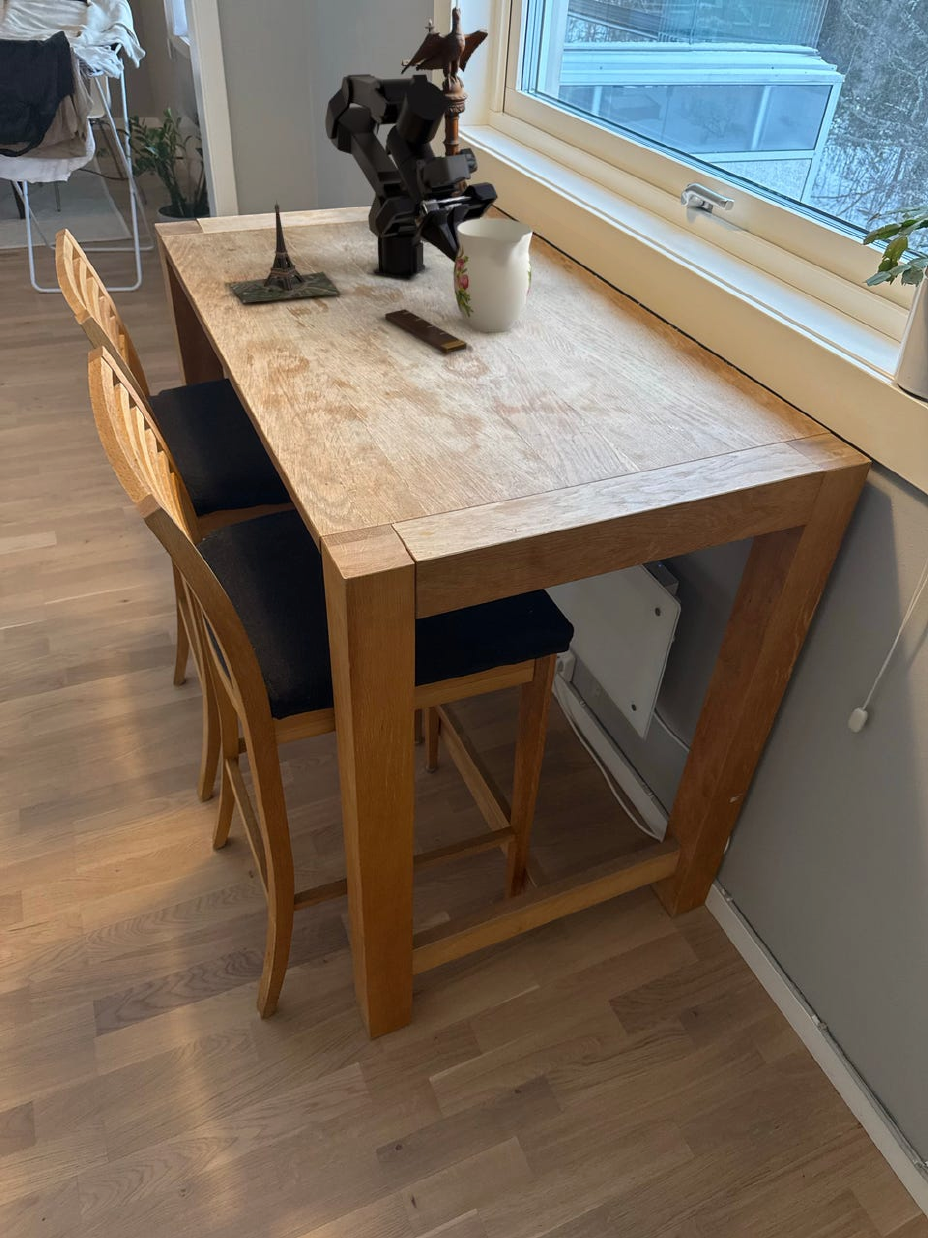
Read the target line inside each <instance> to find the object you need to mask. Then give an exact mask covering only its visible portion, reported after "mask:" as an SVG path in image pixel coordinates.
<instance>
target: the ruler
mask: <svg viewBox="0 0 928 1238" xmlns="http://www.w3.org/2000/svg"><path fill="white" fill-rule="evenodd" d="M384 318H385V320H386V321H388V322H389V323H391V324H393V325H395V326H397V327H398V328H400V329H401V330H403V331H405V332H407V333H408V334H411V336H414V337H415V338H417V339H419V340H421V341H422V342H424V343H426V344H428V345H430V346H431V347H433V348H435V349H436V350H438V351H439V352H442V353H443V354H446V355H448V354H452V353H455V352H459V351H462V350H465V349H467V342H466V341H464V340H463V339H460V338H458V337H456V336H454V335H452V334H451V333H449V332H447V331H445V330H444V329H442V328H440V327H438V326H436V325H434V324H433V323H431V322H429V321H427V320H426V319H423V318H422V317H420V316H418V315H416V314H414V313H413V312H410V311H409V310H407V309H405V308H403V309H400V310H396V311H392V312H388V313H385V314H384Z"/></svg>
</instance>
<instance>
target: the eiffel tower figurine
mask: <svg viewBox="0 0 928 1238" xmlns="http://www.w3.org/2000/svg"><path fill="white" fill-rule="evenodd" d="M273 209H274V211H275V238H276V239H275V241H276V243H275V251H274V254H275V255H274V259H273V264H272V266H270V271H269V274H268V276H267V277H266V278H260V279H255V280H249V281H243V282H236V283H231V284H229V286H230V287H231V289H232V291H233V292H234V293H235V294H236V295H237V297H239V299H240V300H241V301H242V303H244V304H245V303H252V302H264V301H265V302H266V301H276V300H284V299H290V298H291V299H292V298H300V297H310V296H329V295H331V296H332V295H340V294H341V292H340V291H339V290H338V288H337V287H336V286H335V284H334V283H333V282H332V281H331V280H330V278H329V277H328V276H327V275H326V273H325V272H324V271H318V272H313V273H307V274H301V273H300V272H299V271H298V270H297V268H296V265H294V264H293V262H292V260H291V258H290V256H289V250H287V247H286V241H285V238H284V233H283V226H282V220H281V214H280V209H281V208H280V205H279V204H278V201H277V199H275V205H274V208H273Z"/></svg>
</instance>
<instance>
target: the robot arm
mask: <svg viewBox="0 0 928 1238" xmlns="http://www.w3.org/2000/svg"><path fill="white" fill-rule="evenodd" d="M441 90H442V89H440V87H439V86H437V85H436V84H434V83H433V82H431V81H429V79H428V76H427V74H426V73H425V74H423V73H422V74H421V73H420V74H412V76H411V77H407V78H406V77H405V78H382V79H381V78H378V77H376V76H375V75H371V74H370V73H362V74H347V75H346V76H343V78H342V81H341V86H340V88H339V89H338V90H337V92H336V93H335V94H334V95H333V96H332V97H331V98H330V100H329V101H328V103H327V109H326V114H325V120H324V121H325V122H324V123H325V132H326V136H327V139H328V140H330V142H331V144H332V145H333V146H334V147H335V148H336V149H337V150H338V151H339V152H343V153H345V154H349V155H352V157H353V158H354V160H355V162H356V163H357V165H358V167H359V168H360V170H361V172H362V173H363V175H364V176H365V178H366V180H367V182H368V183H369V184H370V186H371V188H372V190H373V191H374V199H373V201H372V203H371V207H370V209H369V212H368V215H367V219H368V226H369V231H370V232H371V233H372V234H373V235H374V236H376V238H377V261H378V263H377V264H378V265H377V266H378V267H376V268H374V269H373V274H375V275H380V276H387V277H391V278H397V279H402V280H411V279H412V278H413V277H415V276H416V275H418V274H419V273H421V272H422V271H424V270H425V269H426V264H424V243H423V242H422V241H421V240H422V238H424V239H425V240H427V241H426V242H428V243H429V244H431V245H432V246H433V247H435V248H436V249H437V250H438V251H440V252H441V253H442V254H443V255H445V256H446V257H447V259H449V260H450V261H452V262H453V263H454V264H455V260H456V257H457V253H458V251H459V248H460V246H459V238H458V233H457V227H458V225H460V224H461V223H462V220H463V221H464V222H466V221H469V220H474V219H479V218H480V219H482V218H483V216H485V214H486V213H487V212H488V210H490V208H491V207H492V206H493V205H494V203H495V202H496V201H497V199H498V198H499V196H498V194H497V191H496V189H495V187H494V185H493V184H492V183H490V182H488V181H485V182H479V183H473V184H468V185H467V186H468V187H467V188H466V190H465V191H464V192H463V194H462V195H461V196H459V197H454V198H453V196H452V193H453V192H456V191H457V190H458V188H459V185H458V182H460V181H463V180H465V181H466V180H471V178H472V175H471V174H474V173H475V172H477V170H478V167H479V165H478V161H477V157H476V155H475V153H474V152H473V150H472V148H471V147H466V148H460V150H458V151H457V152H456V153H455V155H453V156H446V157H445V156H442V155H438V156H436V153H435V152H434V149H433V148H432V146H431V142H432V141H433V140H434V139H435V137H436V135H437V132H438V130H439V128H440V126H441V123H442V120H443V118H444V116H445V115H444V114H445V111H446V109H447V99H446V96H445V95H444V94H443V92H442V91H441ZM351 104H352V105H353V104H355V105H358V106H351ZM382 125H383V126H384V125H393V126H392V127H391V128H390V130H389V131H388V134H387V135H386V140H385V146H383V144H382V142H381V141H380V140H379V138H378V133H379V130H380V126H382ZM391 156H392V158H391ZM392 159H393V160H392ZM421 237H422V238H421ZM424 239H423V240H424ZM425 240H424V241H425Z"/></svg>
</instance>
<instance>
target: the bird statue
mask: <svg viewBox="0 0 928 1238" xmlns="http://www.w3.org/2000/svg"><path fill="white" fill-rule="evenodd" d="M461 14H462V13H461V8H459V7H457V6H454V8H452V10H451V30H450V32H449V33H446V34H441V30H438V29H435V26H434V25H433V21H432V18H428V26H427V25H426V26H424V28H425V29H428V33H427V34H426V36H425V38H424V40H423V42H422V44H421V45H420V46H419V48H418V50H417V51H416V52H415V54H414V55H413V57H412V58H411V59H406V58H404V59H403V60H402V61H401V63H400V65H401V67H404V68H403V69H402V70H401V72H400V74H401V76H402V75H403V74H404V73H405V72H406V71H407V70H408V69H409V68H410V67H412V68H414V67H415V71H416V72H419V71H426V70H427V71H439V70H442V74H443V77H444V80H443V81H442V83H441V88H442V89H440V90H441V91H442V92H443V94H444V95H445V96H446V99H447V109H446V111H445V114H444V116H443V118H444V136H445V137H444V140H443V141H442V144H443V145H444V149H445V150H444V157H446V156H453V155H455V153H456V152H457V151H459V145H460V143H461V141H460V138H459V125H460V124H459V122H460V121H459V119H460V118H461V116H460V115H461V114H463V113H465V111H466V104H465V103H466V100H467V99H468V97H469V96H468V94H467V92H465V91H464V88H465V84H464V82H463V79H462V78H461V77H460V76H458V72H459V69H460V70H461V72H462V73H464V72H465V69H466V67H467V64H468V62H469V60H470V58H472V55H473V54H474V53H475V51H476V50H477V49H478V48H479V47H480V45H481V44H482V43H483V42H484V41H485V40H486V39H487V38H488V36H489V33H488V30H487V29H483V28H479V29H477V30H476V31H473V32H470V33H464V31H463V28H462V23H461V22H462V20H461ZM458 185H459V188H458V190H457V191H456V192H453V193H452V196H453V198H454V197H459V196H461V195H462V194H463V192H464V191H465V190H466V188H467V187H468V186H469V185H468V183H467V181H466V179H465V180H463V181H460V182H458ZM479 219H481V218H479ZM463 222H464V221H463V220H462V223H463ZM421 240H423V241H425V242H428V241H427V240H425V239H424V238H422V237H421Z"/></svg>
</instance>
